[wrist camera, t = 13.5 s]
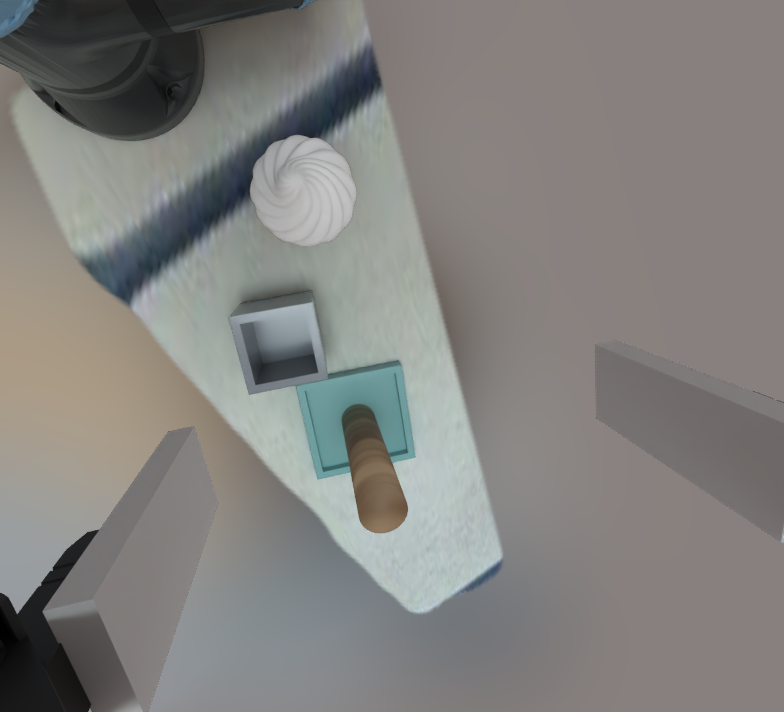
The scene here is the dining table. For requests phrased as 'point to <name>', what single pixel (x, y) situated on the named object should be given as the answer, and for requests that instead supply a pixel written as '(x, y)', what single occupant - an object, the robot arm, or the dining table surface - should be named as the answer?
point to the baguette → (372, 472)
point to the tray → (346, 389)
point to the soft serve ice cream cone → (303, 190)
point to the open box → (279, 342)
